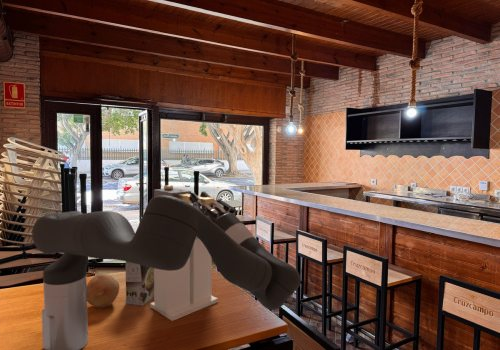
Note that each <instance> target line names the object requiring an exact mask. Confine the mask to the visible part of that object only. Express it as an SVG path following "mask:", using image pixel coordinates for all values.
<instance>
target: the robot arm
mask: <svg viewBox="0 0 500 350" xmlns="http://www.w3.org/2000/svg"><path fill="white" fill-rule="evenodd" d="M198 196H202V197H208V198H212V196H210V194H208V192H206V191H201V193H200V195H197V194H196V192H193V191H191V194H190V197H189V200H190V201H191V202H192V204H191V203H187V202H186V201H184V200H181V199H178V198H176V197H172V196H166V195H159V196H155V197H154V196H153V197H152V198H150V200H149V202H148V203H147V205H146V208H145V210H144V212H143V213H142V217H141V218H140V221H139V223H138V226H137V229H136V230H134V228H133V226H132V224H131V223H130V221H129V219H127V218H126V217H125V216H124V215H123V214H121V213H119V212H116V211H111V210H103V211H92V212H86V213H83V212H81V211H78V210H74V211H73V210H72V211H65V212H64V211H63V212H58V213H56V212H55V213H50V214H45V215H43V216H42V215H41V216H40V217H39V218H38V219H37V220H36V221H35V223H34V224H33V226H32V232H31V237H32V240H33V241H32V242H33V243H34V245H35V247H36V248H37V249H38V250H39V252H41V253H43V254H47V255H50V254H52V255H53V254H58V253H59V254H60V253H63V255H61V256H60V257H59V258H58V259H57V260H54V261H53V262H52V263H50V264H48V265H47V266H46V267H45V268H44V270H43V272H42V281H43V306H44V308H43V309H42V310H41V326H42V347H43V349H44V350H81V349H83V348H85V346H86V345H87V344H88V341H89V331H88V330H89V329H88V328H89V327H88V302H87V284H88V283H87V267H88V258H91V259H103V260H112V261H113V260H114V261H123V262H126V261H127V262H131V263H135V264H139V265H143V266H147V267H151V268H155V269H160V270H167V271H173V270H179V269H181V268H183V267H184V266H185V264H186V263H187V261H188V258H189V256H190V253H191V250H192V247H193V245H194V242H195V239H196V236H197V237H198V238H199V239H200V240H201V242H202V243H203V244H204V246H205V247H206V249H207V250H208V252H209V254H210V256H211V258H212V262H213V263H214V265H215V267H216V269H217V270H218V272H219V274H220V275H221V276H222V277H223V278H224V279H225V280H226V281H228V282H229V283H231V284H233V285H234V286H237V287H239V288H242V289H244V290H245V291H248V292H249V293H251V294H252V296H254V297H255V298H256V299H257V301H258V302H259V303H260V305H262V306H263V307H264V308H265V309H267V310H268V311H269V310H270V311H273V310H274V311H275V310H278V309H280V308H282V306H283V305H284V304H285V303H286V302H287V301H288V299H290V297H291V296H292V295H293V294H294V293H295V292H296V291H297V289H298V288H299V287H300V285H301V283H302V279H301V275H300V272H299V271H298V270H297V269H296V268H295V267H294V266H292V265H291V264H290V263H288V262H285V261H284V260H282V259H280V258H278V257H277V256H275V254H273V253H271V252H270V251H268V250H267V249H266V247H264V246H263V245H262V244H261V242H259V240H258V239H257V238H256V237H255V236H254V235H253V233H252V231H251V230H250V229H249V228H248V227H247V226H246V225H245V224H244V223H243V222H242V221H241V220H240V219H239V218H238V216H236V211H237V209H236V208H235V207H233V206H232V205H230V204H228V203H227V202H225V201H224V200H222V199H220V198H218V199H217V200H216V199H215V198H214V205H212V206H209V205H208V204H204V203H203V202H202V201H201V200H200V198H199V197H198Z"/></svg>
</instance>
